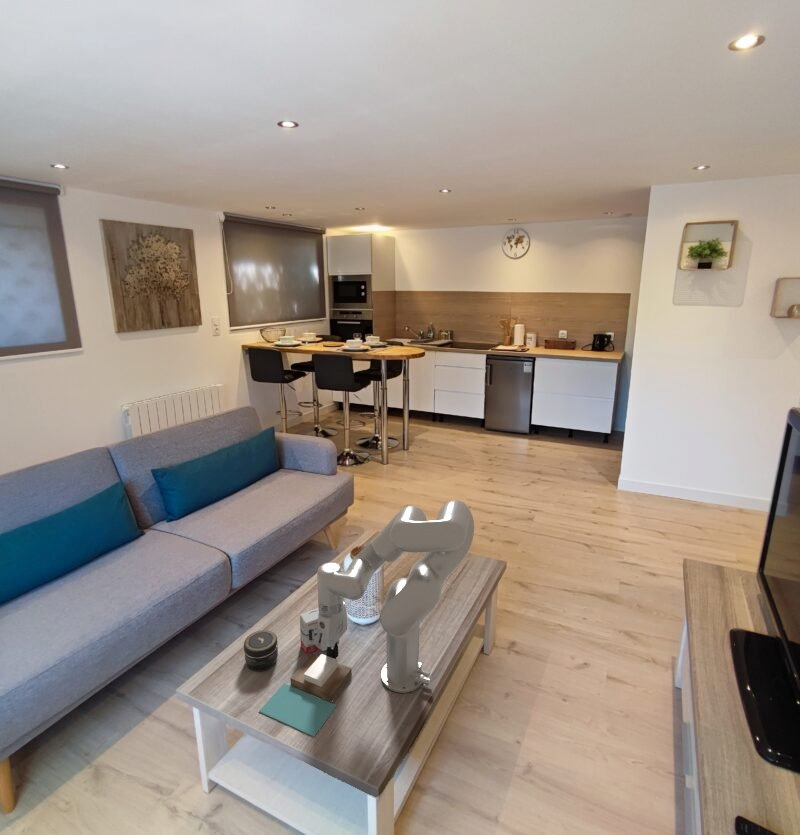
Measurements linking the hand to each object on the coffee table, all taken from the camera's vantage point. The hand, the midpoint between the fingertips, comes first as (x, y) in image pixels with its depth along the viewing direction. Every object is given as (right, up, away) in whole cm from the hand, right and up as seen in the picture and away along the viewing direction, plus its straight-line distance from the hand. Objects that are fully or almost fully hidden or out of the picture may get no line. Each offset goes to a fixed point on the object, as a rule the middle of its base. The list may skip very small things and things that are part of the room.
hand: (332, 656), depth 150 cm
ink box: (-7, -1, +10) cm, 12 cm away
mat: (-7, -7, -15) cm, 18 cm away
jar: (-22, -3, +3) cm, 23 cm away
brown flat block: (-3, -5, -5) cm, 7 cm away
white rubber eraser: (-3, -2, -5) cm, 6 cm away
